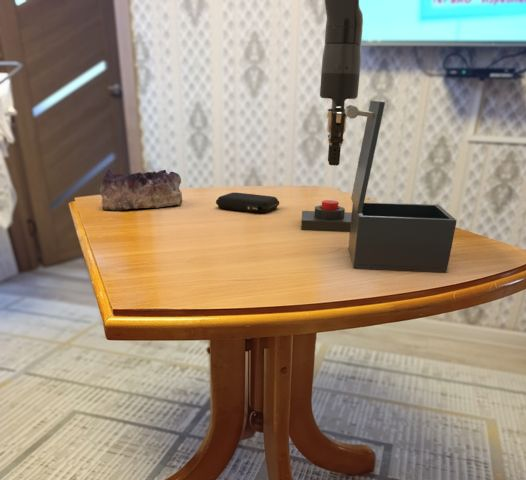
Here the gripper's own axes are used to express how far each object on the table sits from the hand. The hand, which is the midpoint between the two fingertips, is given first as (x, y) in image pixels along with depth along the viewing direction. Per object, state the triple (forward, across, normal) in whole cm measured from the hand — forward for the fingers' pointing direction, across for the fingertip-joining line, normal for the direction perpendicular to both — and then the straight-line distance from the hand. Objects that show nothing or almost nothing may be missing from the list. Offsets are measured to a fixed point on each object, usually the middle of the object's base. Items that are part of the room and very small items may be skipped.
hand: (333, 163), depth 107 cm
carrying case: (+14, +15, +20) cm, 28 cm away
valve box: (+13, -24, -11) cm, 30 cm away
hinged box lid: (-4, -24, -4) cm, 25 cm away
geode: (+14, +13, +46) cm, 50 cm away
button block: (+13, 0, 0) cm, 13 cm away
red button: (+10, 0, 0) cm, 10 cm away
